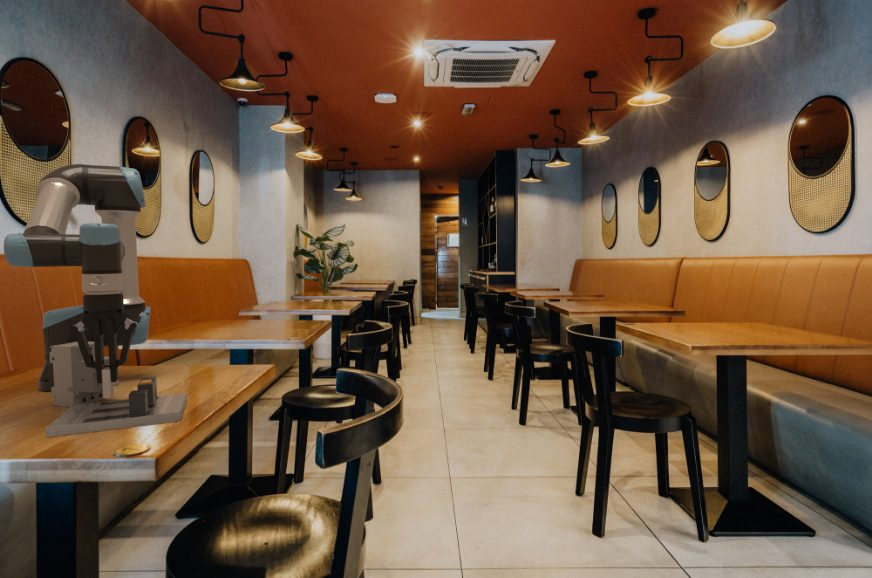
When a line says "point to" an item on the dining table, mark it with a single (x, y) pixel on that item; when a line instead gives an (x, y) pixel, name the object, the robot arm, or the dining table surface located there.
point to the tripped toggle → (150, 388)
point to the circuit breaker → (75, 376)
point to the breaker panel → (119, 413)
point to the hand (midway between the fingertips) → (108, 396)
